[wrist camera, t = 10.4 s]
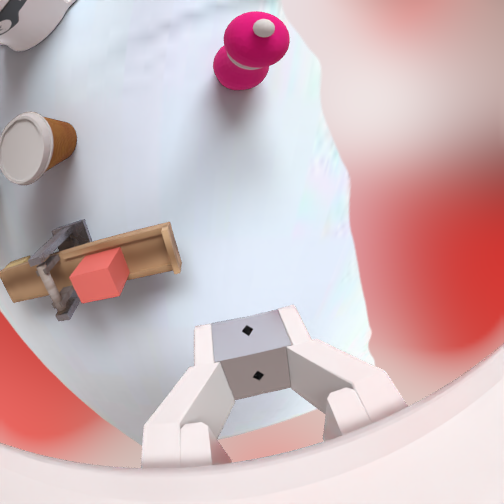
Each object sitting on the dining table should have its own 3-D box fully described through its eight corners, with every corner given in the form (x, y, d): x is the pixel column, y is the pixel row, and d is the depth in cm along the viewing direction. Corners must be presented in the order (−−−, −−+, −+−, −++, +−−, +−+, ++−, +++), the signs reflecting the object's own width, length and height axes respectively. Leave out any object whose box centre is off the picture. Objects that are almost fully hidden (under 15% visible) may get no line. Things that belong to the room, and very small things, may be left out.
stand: (53, 229, 38) (17, 262, 27) (84, 219, 39) (50, 251, 28) (75, 281, 43) (48, 323, 32) (105, 274, 44) (82, 318, 33)
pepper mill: (260, 95, 36) (308, 69, 18) (211, 92, 35) (216, 60, 17) (263, 51, 33) (310, -1, 15) (214, 48, 32) (223, -13, 14)
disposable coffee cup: (87, 109, 32) (49, 106, 21) (84, 169, 36) (47, 186, 25) (40, 115, 30) (-4, 118, 19) (38, 171, 34) (-4, 189, 23)
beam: (9, 259, 36) (-17, 284, 27) (171, 210, 38) (162, 234, 30) (24, 292, 39) (3, 320, 31) (184, 255, 41) (179, 288, 33)
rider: (85, 256, 34) (69, 277, 29) (120, 246, 35) (107, 267, 29) (95, 280, 36) (82, 303, 30) (129, 272, 36) (119, 295, 31)
